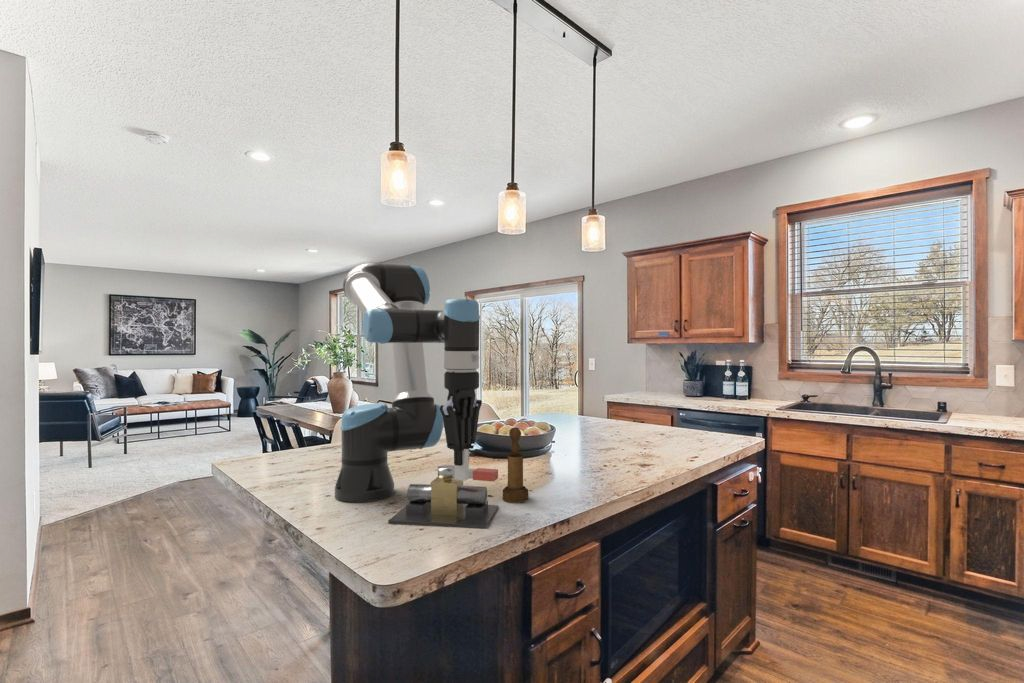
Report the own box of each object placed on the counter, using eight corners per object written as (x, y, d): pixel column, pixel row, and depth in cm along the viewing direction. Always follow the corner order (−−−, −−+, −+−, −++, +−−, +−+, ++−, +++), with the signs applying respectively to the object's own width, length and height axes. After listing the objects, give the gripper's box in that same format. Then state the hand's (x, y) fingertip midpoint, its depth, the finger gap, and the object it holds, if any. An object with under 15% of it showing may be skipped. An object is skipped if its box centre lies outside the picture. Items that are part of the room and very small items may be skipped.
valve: (388, 523, 112) (388, 485, 112) (410, 503, 126) (410, 470, 126) (486, 528, 109) (486, 489, 109) (498, 507, 122) (498, 472, 123)
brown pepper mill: (519, 504, 125) (519, 430, 125) (497, 500, 128) (497, 428, 128) (533, 497, 130) (532, 427, 131) (511, 493, 134) (511, 425, 134)
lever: (434, 477, 117) (434, 468, 117) (442, 473, 122) (442, 464, 122) (492, 482, 113) (492, 473, 113) (499, 477, 117) (499, 468, 117)
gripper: (458, 373, 103) (458, 489, 103) (492, 369, 115) (491, 474, 115) (429, 371, 107) (429, 484, 107) (464, 368, 118) (464, 470, 118)
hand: (461, 479), depth 111 cm, fingers closed
